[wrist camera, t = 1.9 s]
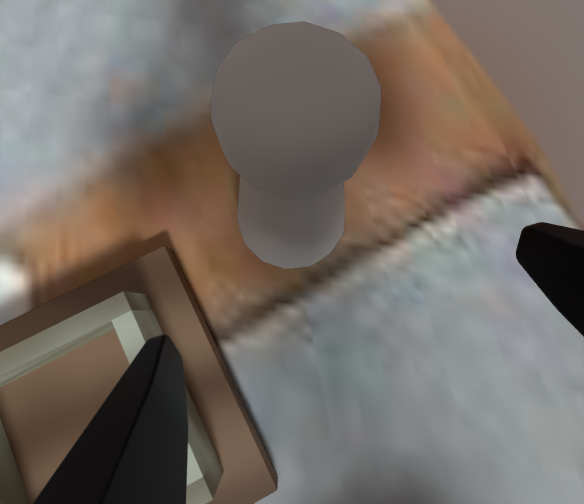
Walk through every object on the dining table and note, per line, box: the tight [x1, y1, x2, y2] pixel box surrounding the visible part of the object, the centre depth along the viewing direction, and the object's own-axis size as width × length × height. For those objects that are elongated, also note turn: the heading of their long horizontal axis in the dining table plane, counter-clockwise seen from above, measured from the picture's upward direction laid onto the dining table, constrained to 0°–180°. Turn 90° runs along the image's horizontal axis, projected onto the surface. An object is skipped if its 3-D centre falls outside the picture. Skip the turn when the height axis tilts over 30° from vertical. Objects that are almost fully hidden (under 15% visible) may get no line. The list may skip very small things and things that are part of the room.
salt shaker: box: [210, 22, 381, 269], centre depth 14 cm, size 6×6×13 cm
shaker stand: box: [0, 246, 278, 504], centre depth 16 cm, size 14×14×4 cm
